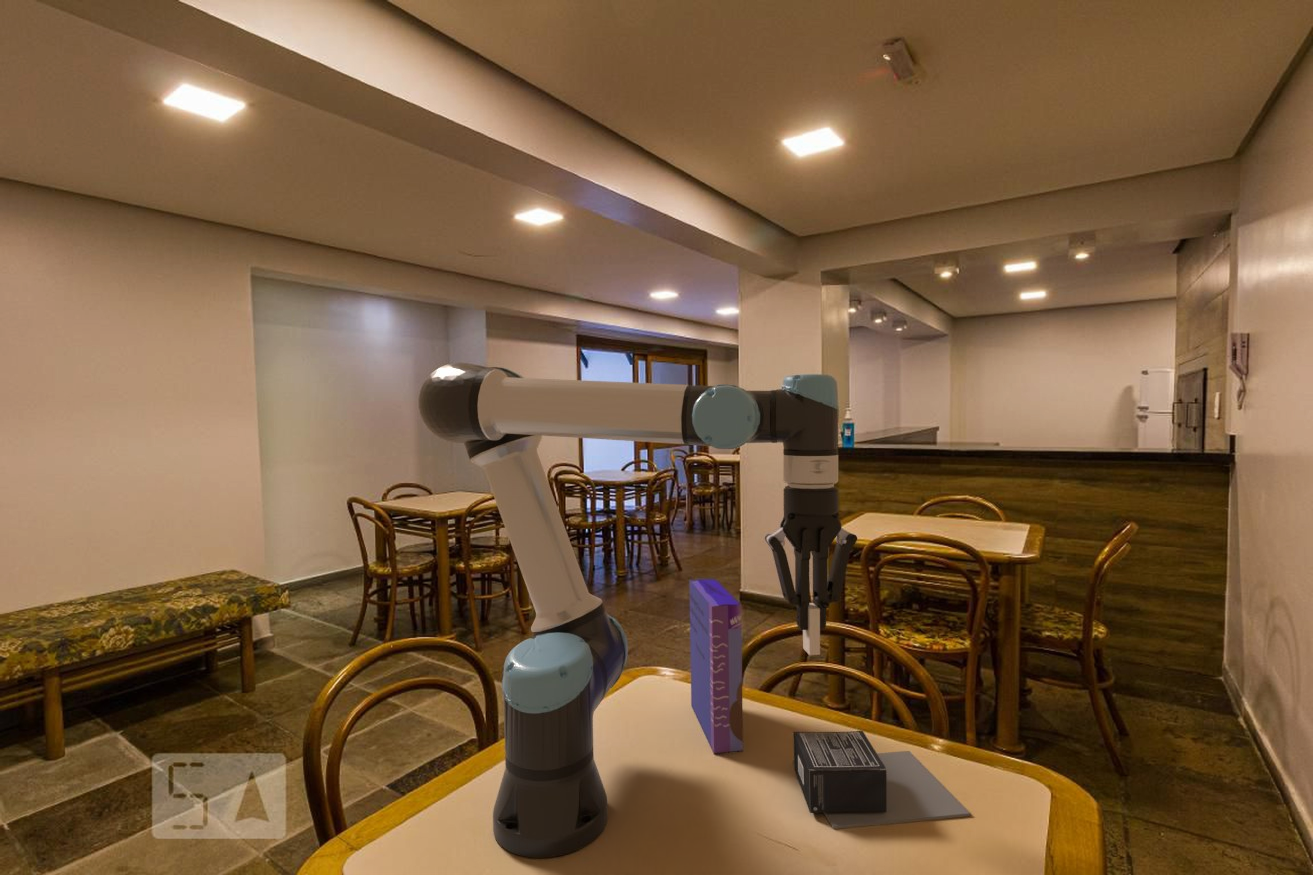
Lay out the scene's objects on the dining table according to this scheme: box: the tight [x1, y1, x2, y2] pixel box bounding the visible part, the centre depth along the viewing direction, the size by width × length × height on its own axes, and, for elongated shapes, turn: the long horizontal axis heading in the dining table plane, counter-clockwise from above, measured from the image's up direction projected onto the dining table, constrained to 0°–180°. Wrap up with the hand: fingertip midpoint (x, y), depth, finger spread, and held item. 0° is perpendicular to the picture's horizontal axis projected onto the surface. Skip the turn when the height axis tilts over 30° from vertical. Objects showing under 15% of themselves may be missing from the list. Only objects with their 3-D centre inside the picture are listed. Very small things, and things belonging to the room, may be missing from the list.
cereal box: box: [688, 577, 744, 755], centre depth 109 cm, size 17×5×24 cm, turn 9°
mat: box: [792, 750, 972, 830], centre depth 91 cm, size 19×16×1 cm
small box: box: [793, 730, 887, 814], centre depth 89 cm, size 11×6×10 cm
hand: (811, 651), depth 90 cm, fingers closed
